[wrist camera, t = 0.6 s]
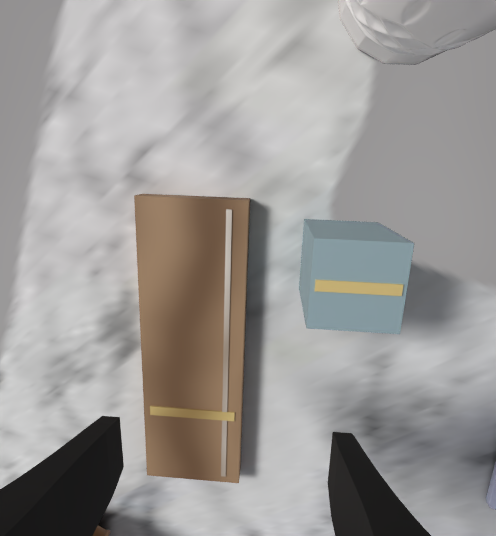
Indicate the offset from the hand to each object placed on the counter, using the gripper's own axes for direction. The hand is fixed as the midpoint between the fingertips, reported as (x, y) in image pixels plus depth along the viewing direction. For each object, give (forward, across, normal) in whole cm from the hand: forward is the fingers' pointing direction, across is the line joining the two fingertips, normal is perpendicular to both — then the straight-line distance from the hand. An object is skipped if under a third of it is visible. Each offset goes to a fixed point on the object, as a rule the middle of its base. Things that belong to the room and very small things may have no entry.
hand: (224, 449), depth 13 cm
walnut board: (+10, +3, +2) cm, 11 cm away
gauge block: (+10, -5, -4) cm, 12 cm away
